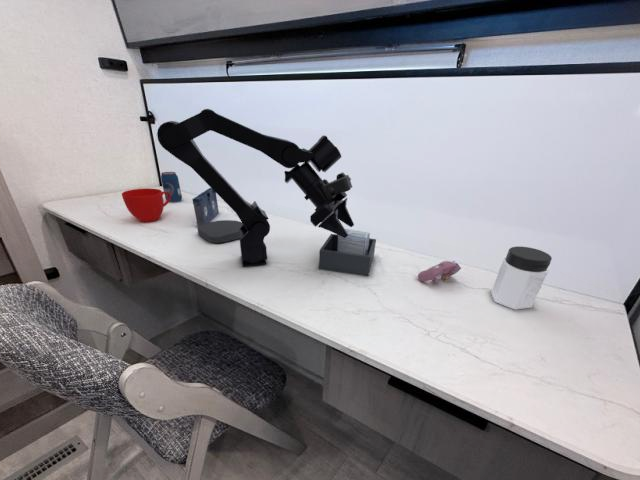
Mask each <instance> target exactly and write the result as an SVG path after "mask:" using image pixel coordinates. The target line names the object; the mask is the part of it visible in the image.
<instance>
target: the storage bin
mask: <svg viewBox="0 0 640 480" xmlns="http://www.w3.org/2000/svg"><path fill="white" fill-rule="evenodd" d="M376 242H377V238H370V237H369V246H368V255H360V254H352V253H344V252H337V248H338V235H337V234H335V233H330V235H329V236H328V237H327V239H326V240H325V242H324V243H323V245H322V246H321V248H320V249H319V251H318V252H319V253H318V254H319V255H318V270H323V271H328V272H329V271H330V272H336V273H337V272H338V273H345V274H351V275H357V276H364V277H369V275H370V272H371V268H372V264H373V260H374V258H375V251H376V244H377V243H376Z"/></svg>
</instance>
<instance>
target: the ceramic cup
mask: <svg viewBox="0 0 640 480" xmlns="http://www.w3.org/2000/svg"><path fill="white" fill-rule="evenodd" d="M164 193H167V195H168V199H167V200H166V201H165V202H164V196H163V195H165V194H164ZM121 197H122V200H123V203H124V205H125V207H126V209H127V210H128V212H129V213H130V215H132V216H133V218H135V219H136V220H138V221H139V222H141V223H152V222H156V221H158V220H160V218H161V216H162V214H163V212H164V207H166V206H167V205H168V204H169V203H170V202H169V201H170V198H171V197H170V194H169V193H168V192H167V191H164V190H163V191H162V190H161V189H159V188H150V187H149V188H135V189H128V190H125V191H123V192H122V193H121Z"/></svg>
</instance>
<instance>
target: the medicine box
mask: <svg viewBox="0 0 640 480" xmlns="http://www.w3.org/2000/svg"><path fill="white" fill-rule="evenodd" d="M344 229H345V230H346V232H347V234H348V236H347V237H346V238H344V237H342V236H340V235H338V248H337V252H344V253H352V254H360V255H368V246H369V238H370V237H371V232H369V231H363V230H356V229H349V228H344Z"/></svg>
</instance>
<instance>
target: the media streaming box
mask: <svg viewBox="0 0 640 480" xmlns="http://www.w3.org/2000/svg"><path fill="white" fill-rule="evenodd" d="M242 225H243V223H242V222H241V221H240V220H231V219H230V220H229V219H227V220H225V219H223V220H215V221H210V222H209V223H206V224H203V225H201V226H199V227H198V226H197V233H198V236H200V237H202V238H203V239H204V240H206V241H207V242H209V243H213V244H219V243H227V242H231V241H234V240H235V241H236V240H239V239H241V237H240V233H239V228H240V227H241V226H242Z"/></svg>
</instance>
